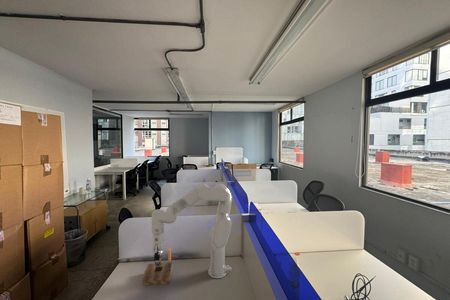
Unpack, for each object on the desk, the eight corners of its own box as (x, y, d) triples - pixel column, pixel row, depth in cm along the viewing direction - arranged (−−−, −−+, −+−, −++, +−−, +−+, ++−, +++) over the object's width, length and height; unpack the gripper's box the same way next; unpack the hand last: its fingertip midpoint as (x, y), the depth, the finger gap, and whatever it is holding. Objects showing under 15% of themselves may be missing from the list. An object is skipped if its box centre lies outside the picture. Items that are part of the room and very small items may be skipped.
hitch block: (172, 271, 142) (172, 255, 141) (170, 283, 130) (170, 266, 129) (147, 272, 140) (147, 256, 139) (143, 285, 128) (142, 268, 127)
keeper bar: (168, 261, 137) (171, 261, 137) (168, 264, 134) (170, 264, 134) (168, 247, 136) (171, 247, 136) (168, 250, 133) (170, 250, 133)
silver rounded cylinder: (163, 261, 138) (163, 247, 137) (161, 266, 132) (162, 253, 131) (154, 261, 137) (154, 248, 136) (152, 267, 131) (152, 253, 130)
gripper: (161, 236, 125) (161, 265, 126) (166, 223, 142) (166, 249, 143) (148, 236, 124) (148, 266, 125) (154, 224, 141) (154, 250, 142)
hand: (158, 257), depth 134 cm, fingers closed on silver rounded cylinder, 6 cm apart
